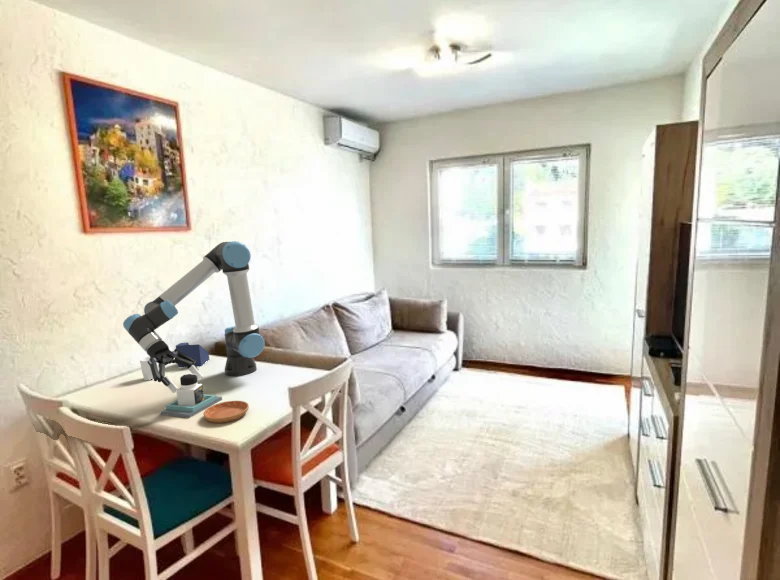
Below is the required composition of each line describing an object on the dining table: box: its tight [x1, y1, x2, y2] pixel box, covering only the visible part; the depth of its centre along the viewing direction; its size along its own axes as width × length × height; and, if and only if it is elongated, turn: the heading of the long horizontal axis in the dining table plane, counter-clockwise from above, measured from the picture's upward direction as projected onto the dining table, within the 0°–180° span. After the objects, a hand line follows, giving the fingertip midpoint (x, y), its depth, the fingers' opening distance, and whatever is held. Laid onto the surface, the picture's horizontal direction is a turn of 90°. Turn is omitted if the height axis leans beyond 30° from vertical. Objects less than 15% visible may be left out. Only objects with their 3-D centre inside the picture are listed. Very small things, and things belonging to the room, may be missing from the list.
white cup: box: [139, 356, 159, 381], centre depth 212 cm, size 8×8×10 cm
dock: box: [159, 393, 223, 418], centre depth 173 cm, size 18×14×3 cm
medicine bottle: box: [176, 373, 204, 407], centre depth 172 cm, size 7×7×12 cm
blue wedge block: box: [175, 342, 210, 368], centre depth 233 cm, size 12×12×12 cm
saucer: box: [202, 400, 249, 424], centre depth 162 cm, size 16×16×3 cm
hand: (189, 384), depth 171 cm, fingers open, 13 cm apart
